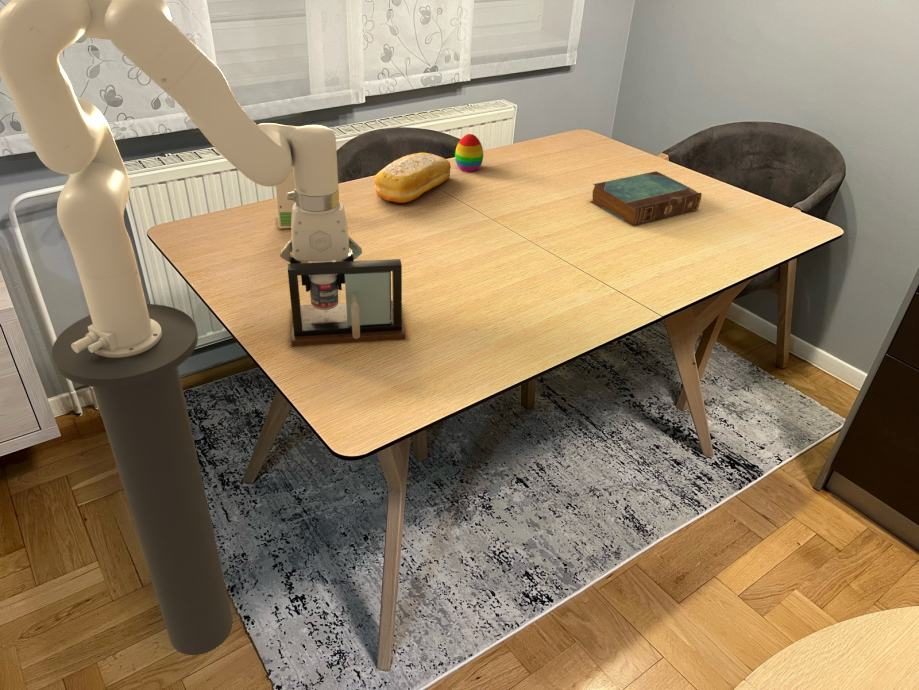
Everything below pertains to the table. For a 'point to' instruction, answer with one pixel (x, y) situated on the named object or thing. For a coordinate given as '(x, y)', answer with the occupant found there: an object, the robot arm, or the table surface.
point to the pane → (367, 299)
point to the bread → (411, 177)
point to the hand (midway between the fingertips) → (323, 286)
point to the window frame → (342, 306)
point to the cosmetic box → (285, 201)
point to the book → (645, 197)
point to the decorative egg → (469, 153)
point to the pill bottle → (323, 290)
